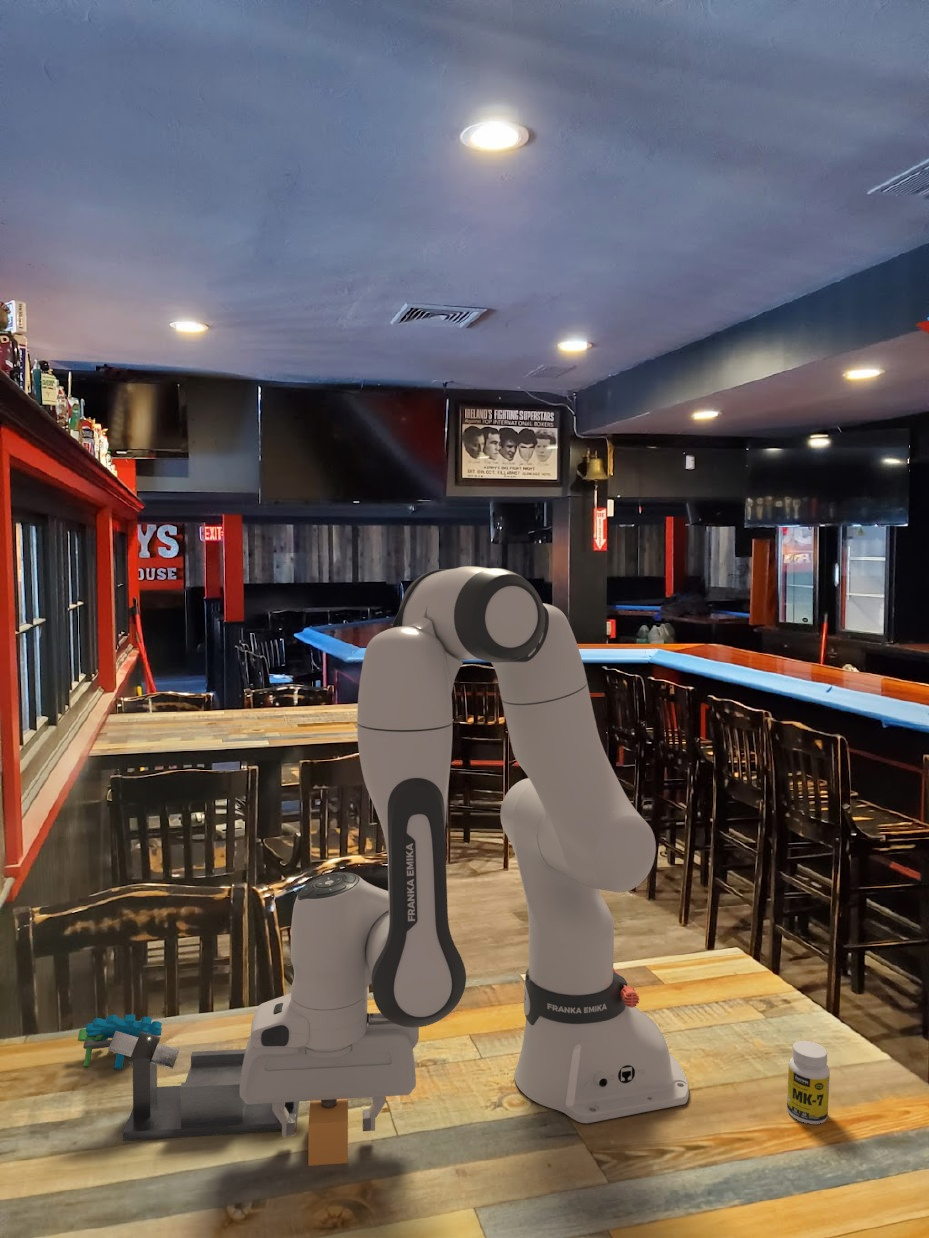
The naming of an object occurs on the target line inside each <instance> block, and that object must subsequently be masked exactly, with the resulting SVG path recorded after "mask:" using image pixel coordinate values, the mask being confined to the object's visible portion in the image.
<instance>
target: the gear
mask: <svg viewBox="0 0 929 1238" xmlns="http://www.w3.org/2000/svg"><path fill="white" fill-rule="evenodd" d="M152 1020H153V1018H152V1017H150V1016H142V1017H141V1020H136V1014H133V1013H132V1014H125V1015H124V1018H121V1017H119V1016H118V1015H117V1014H110V1015H107V1016H106V1019H104V1018H101V1017H95V1018H94V1019H93V1020H92V1022H91V1023H89V1022H88V1023H86V1026H85V1028H82V1029H81V1028H80V1029H79V1031H78V1037H77V1041H78V1042H83V1049H84V1050H85V1055H84V1060H83V1066H82V1067H84V1068H89V1067H90V1064H91V1058H92V1053H93V1050H96V1049H98V1050H99V1049H106V1048H107V1049H108V1048H109V1046H110V1043H111V1041H112V1038H113V1036H114V1034H115V1032H116V1031H118V1032H121V1033H125V1034H128V1035H131V1036H135V1037H138V1038H139V1035H140V1033H141V1032H144V1033H148V1034H151V1035H155V1036H158V1037H161V1036H162V1030H163V1027H162V1024H163V1023H162V1022H160V1021H157V1020H156V1021H155V1020H154V1021H152ZM124 1058H125V1055H122V1054H119V1053H116V1057H115V1061H114V1069H115V1070H122V1069H123V1066H124V1060H125V1059H124Z"/></svg>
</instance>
